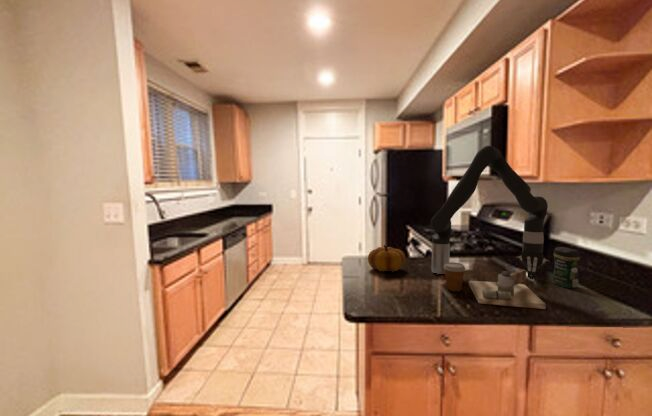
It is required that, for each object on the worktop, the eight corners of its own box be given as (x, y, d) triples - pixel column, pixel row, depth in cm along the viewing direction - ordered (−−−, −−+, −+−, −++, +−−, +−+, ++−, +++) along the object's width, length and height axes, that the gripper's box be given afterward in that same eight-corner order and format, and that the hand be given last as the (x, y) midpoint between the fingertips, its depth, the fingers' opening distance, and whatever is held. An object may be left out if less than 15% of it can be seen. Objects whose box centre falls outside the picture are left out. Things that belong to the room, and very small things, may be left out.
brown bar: (509, 297, 124) (510, 275, 123) (495, 293, 129) (495, 271, 128) (530, 287, 134) (530, 267, 133) (515, 284, 139) (516, 264, 138)
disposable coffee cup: (463, 286, 143) (464, 262, 142) (466, 293, 134) (466, 268, 133) (442, 285, 146) (443, 261, 145) (443, 291, 137) (444, 266, 137)
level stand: (478, 303, 124) (479, 291, 123) (468, 284, 147) (469, 274, 146) (545, 309, 117) (546, 296, 116) (524, 288, 140) (524, 277, 139)
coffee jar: (548, 282, 147) (550, 246, 145) (562, 281, 148) (564, 245, 146) (567, 289, 137) (569, 250, 136) (581, 288, 138) (583, 249, 137)
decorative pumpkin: (384, 277, 160) (384, 250, 159) (361, 267, 179) (361, 243, 178) (412, 271, 169) (412, 246, 168) (387, 263, 189) (387, 240, 188)
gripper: (514, 241, 132) (513, 278, 133) (551, 244, 124) (549, 284, 125) (516, 238, 138) (514, 274, 139) (551, 241, 130) (549, 279, 131)
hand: (531, 279), depth 132 cm, fingers closed
